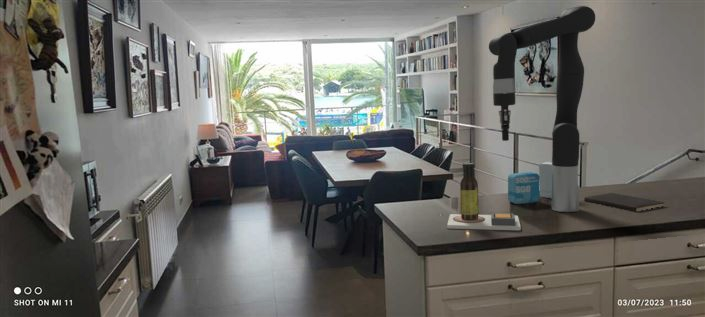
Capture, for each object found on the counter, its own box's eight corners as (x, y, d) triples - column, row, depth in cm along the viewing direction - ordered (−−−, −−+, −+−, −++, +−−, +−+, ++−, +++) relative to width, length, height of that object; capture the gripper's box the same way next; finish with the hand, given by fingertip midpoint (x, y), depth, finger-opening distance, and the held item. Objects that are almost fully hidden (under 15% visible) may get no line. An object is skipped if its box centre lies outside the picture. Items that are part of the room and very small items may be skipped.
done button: (510, 219, 178) (510, 214, 178) (510, 223, 174) (510, 217, 173) (495, 219, 180) (495, 213, 179) (495, 223, 175) (495, 217, 175)
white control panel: (517, 218, 186) (517, 209, 186) (520, 230, 171) (520, 219, 170) (450, 217, 192) (450, 207, 192) (447, 228, 177) (447, 218, 176)
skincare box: (564, 197, 219) (564, 162, 217) (555, 199, 215) (555, 164, 213) (547, 194, 226) (547, 161, 224) (538, 196, 222) (538, 162, 220)
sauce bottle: (481, 219, 181) (481, 163, 179) (465, 221, 180) (464, 165, 177) (473, 215, 187) (473, 161, 185) (457, 217, 186) (456, 162, 183)
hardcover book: (611, 198, 217) (611, 192, 216) (664, 208, 196) (664, 202, 196) (584, 202, 210) (584, 197, 210) (635, 213, 189) (636, 207, 189)
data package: (514, 204, 209) (514, 175, 208) (507, 202, 213) (507, 173, 212) (539, 201, 212) (539, 173, 211) (532, 199, 217) (532, 171, 215)
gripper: (492, 92, 190) (493, 139, 192) (493, 92, 177) (495, 142, 179) (513, 91, 188) (514, 138, 190) (516, 91, 176) (517, 141, 178)
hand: (505, 140), depth 185 cm, fingers closed
